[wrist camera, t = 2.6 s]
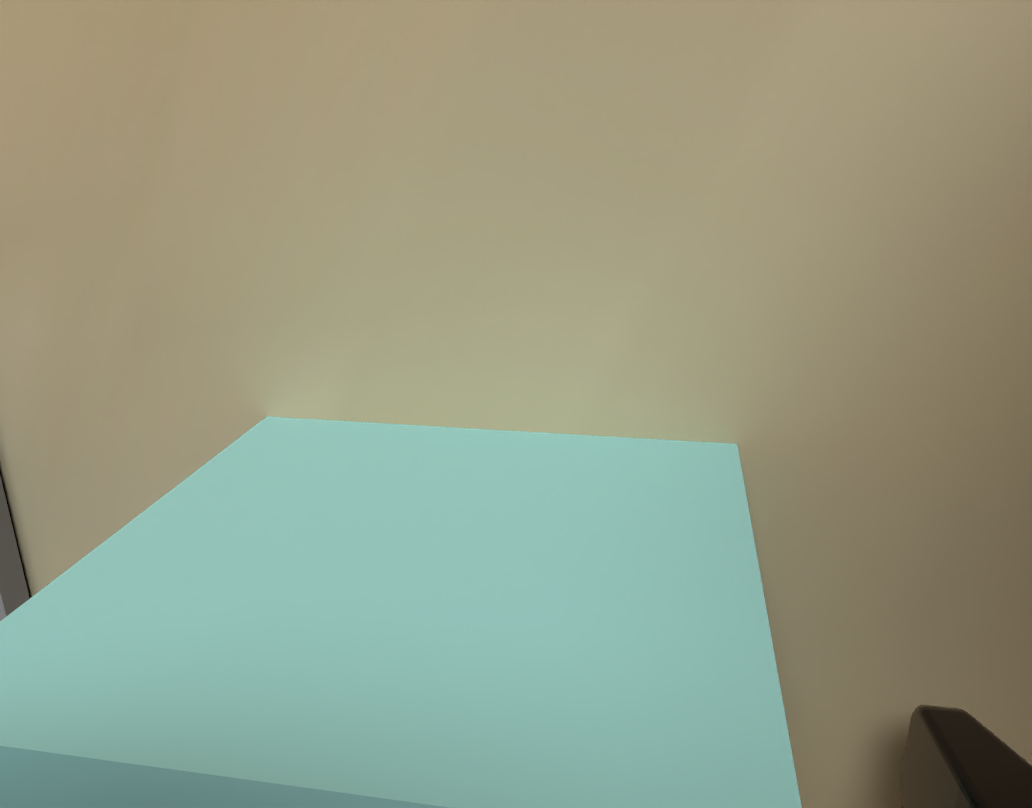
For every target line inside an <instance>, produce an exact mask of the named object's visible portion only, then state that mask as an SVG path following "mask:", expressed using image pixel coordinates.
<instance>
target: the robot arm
mask: <svg viewBox="0 0 1032 808" xmlns="http://www.w3.org/2000/svg"><path fill="white" fill-rule="evenodd" d="M900 792H901V801H902V807H903V808H1032V766H1031V765H1030V764H1029V763H1028V762H1027V761H1025V760H1024V759H1023V758H1022V757H1021V756H1019V755H1018V754H1017V753H1016V752H1015V751H1013V750H1012V749H1011V748H1010V747H1009V746H1007V745H1006V744H1005V743H1004V742H1002V741H1001V740H1000V739H999V738H998V737H996V736H995V735H994V734H993V733H992V732H990V731H989V730H988V729H987V728H986V727H984V726H983V725H982V724H981V723H980V722H978V721H977V720H976V719H975V718H974V717H972V716H971V715H970V714H968V713H967V712H966V711H964V710H961V709H957V708H948V707H938V706H929V705H920V706H919V707H917V708H916V709H915V710H914V712H913V714H912V716H911V720H910V726H909V731H908V736H907V742H906V747H905V753H904V758H903V764H902V769H901V777H900Z"/></svg>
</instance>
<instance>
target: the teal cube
mask: <svg viewBox="0 0 1032 808" xmlns="http://www.w3.org/2000/svg"><path fill="white" fill-rule="evenodd" d="M0 808H802V806H801V801H800V795H799V789H798V784H797V778H796V772H795V767H794V761H793V756H792V750H791V744H790V739H789V733H788V727H787V722H786V716H785V710H784V705H783V699H782V693H781V688H780V682H779V677H778V671H777V665H776V660H775V654H774V648H773V643H772V637H771V631H770V626H769V620H768V615H767V609H766V603H765V598H764V592H763V586H762V581H761V575H760V569H759V564H758V558H757V553H756V547H755V541H754V536H753V530H752V524H751V519H750V513H749V507H748V502H747V496H746V490H745V485H744V479H743V474H742V468H741V462H740V457H739V451H738V445H737V444H728V443H710V442H693V441H676V440H659V439H642V438H625V437H608V436H591V435H574V434H557V433H540V432H523V431H506V430H488V429H471V428H454V427H437V426H420V425H403V424H386V423H369V422H352V421H335V420H318V419H301V418H284V417H266V418H264V419H263V420H262V421H260V422H259V423H258V424H256V425H255V426H254V427H252V428H251V429H250V430H249V431H247V432H246V433H245V434H243V435H242V436H241V437H239V438H238V439H237V440H236V441H234V442H233V443H232V444H230V445H229V446H228V447H226V448H225V449H224V450H223V451H221V452H220V453H219V454H217V455H216V456H215V457H213V458H212V459H211V460H210V461H208V462H207V463H206V464H204V465H203V466H202V467H200V468H199V469H198V470H197V471H195V472H194V473H193V474H191V475H190V476H189V477H187V478H186V479H185V480H184V481H182V482H181V483H180V484H178V485H177V486H176V487H174V488H173V489H172V490H171V491H169V492H168V493H167V494H165V495H164V496H163V497H161V498H160V499H159V500H158V501H156V502H155V503H154V504H152V505H151V506H150V507H148V508H147V509H146V510H145V511H143V512H142V513H141V514H139V515H138V516H137V517H135V518H134V519H133V520H132V521H130V522H129V523H128V524H126V525H125V526H124V527H122V528H121V529H120V530H118V531H117V532H116V533H115V534H113V535H112V536H111V537H109V538H108V539H107V540H105V541H104V542H103V543H102V544H100V545H99V546H98V547H96V548H95V549H94V550H92V551H91V552H90V553H89V554H87V555H86V556H85V557H83V558H82V559H81V560H79V561H78V562H77V563H76V564H74V565H73V566H72V567H70V568H69V569H68V570H66V571H65V572H64V573H63V574H61V575H60V576H59V577H57V578H56V579H55V580H53V581H52V582H51V583H50V584H48V585H47V586H46V587H44V588H43V589H42V590H40V591H39V592H38V593H37V594H35V595H34V596H33V597H31V598H30V599H29V600H27V601H26V602H25V603H24V604H22V605H21V606H20V607H18V608H17V609H16V610H14V611H13V612H12V613H11V614H9V615H8V616H7V617H5V618H4V619H3V620H1V621H0Z"/></svg>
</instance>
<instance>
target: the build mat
mask: <svg viewBox="0 0 1032 808" xmlns="http://www.w3.org/2000/svg"><path fill="white" fill-rule="evenodd" d="M29 599H30V598H29V594H28V589H27V585H26V581H25V577H24V573H23V568H22V564H21V560H20V556H19V552H18V547H17V543H16V539H15V535H14V531H13V526H12V522H11V518H10V514H9V510H8V505H7V501H6V497H5V493H4V489H3V484H2V480H1V476H0V621H1V620H3V619H4V618H5V617H7V616H8V615H9V614H11V613H12V612H13V611H14V610H16V609H17V608H18V607H20V606H21V605H22V604H24V603H25V602H26V601H27V600H29Z"/></svg>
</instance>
